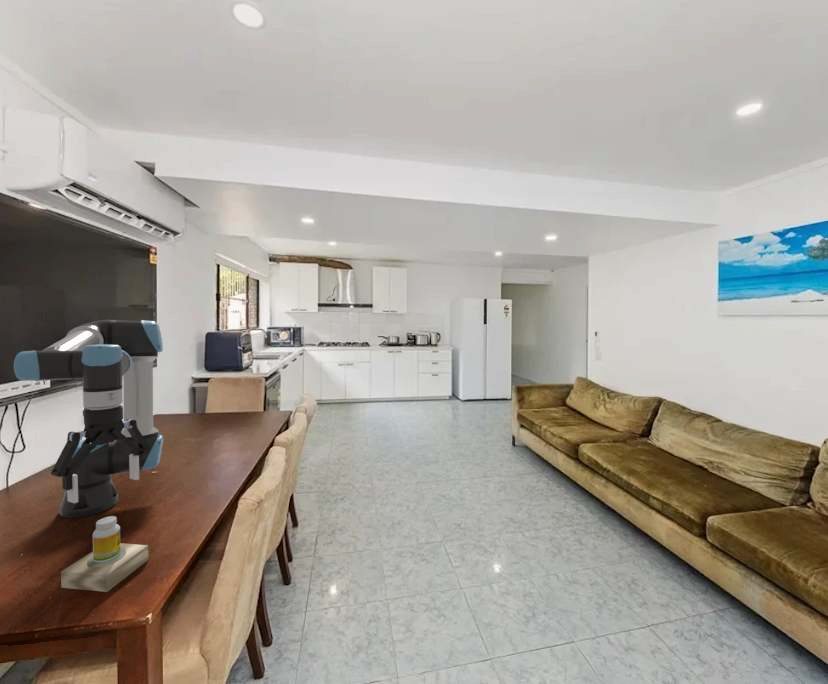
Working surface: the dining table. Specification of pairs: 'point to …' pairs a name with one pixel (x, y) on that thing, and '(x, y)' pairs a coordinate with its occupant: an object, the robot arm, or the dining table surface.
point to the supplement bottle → (106, 540)
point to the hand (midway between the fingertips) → (105, 489)
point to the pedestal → (104, 569)
